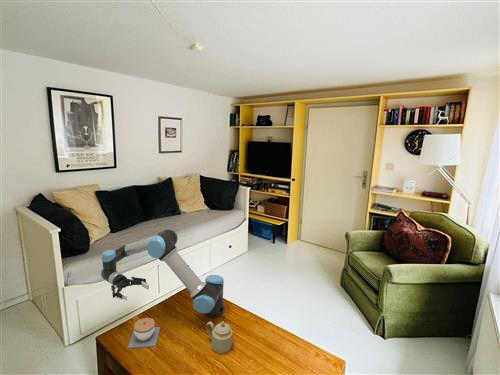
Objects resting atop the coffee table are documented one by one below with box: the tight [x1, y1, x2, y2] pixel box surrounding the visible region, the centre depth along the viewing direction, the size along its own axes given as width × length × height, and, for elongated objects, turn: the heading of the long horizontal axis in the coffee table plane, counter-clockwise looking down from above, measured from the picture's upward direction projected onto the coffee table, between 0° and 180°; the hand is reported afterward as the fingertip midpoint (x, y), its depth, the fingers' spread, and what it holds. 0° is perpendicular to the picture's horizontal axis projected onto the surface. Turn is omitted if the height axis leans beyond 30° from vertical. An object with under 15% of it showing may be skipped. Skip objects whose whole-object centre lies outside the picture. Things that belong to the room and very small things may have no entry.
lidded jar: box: [133, 317, 156, 341], centre depth 144 cm, size 11×11×9 cm
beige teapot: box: [205, 320, 233, 354], centre depth 141 cm, size 15×11×15 cm
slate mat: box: [127, 326, 161, 350], centre depth 144 cm, size 14×14×1 cm
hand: (137, 292), depth 149 cm, fingers open, 13 cm apart
